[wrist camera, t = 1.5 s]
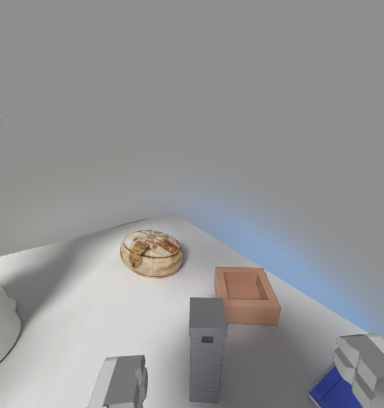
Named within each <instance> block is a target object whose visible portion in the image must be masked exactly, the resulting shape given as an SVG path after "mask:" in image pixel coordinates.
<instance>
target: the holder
mask: <svg viewBox="0 0 384 408" xmlns="http://www.w3.org/2000/svg"><path fill="white" fill-rule="evenodd" d="M214 283H215V292H216V298H223V303H224V310H225V316H226V323H227V324H256V325H277V324H278V319H279V315H280V311H281V306H280V304H279V302H278V300H277V298H276V296H275V293H274V291H273V289H272V287H271V285H270V283H269V280H268V278H267V276H266V274H265V272H264V269H263V268H243V267H215V280H214Z"/></svg>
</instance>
